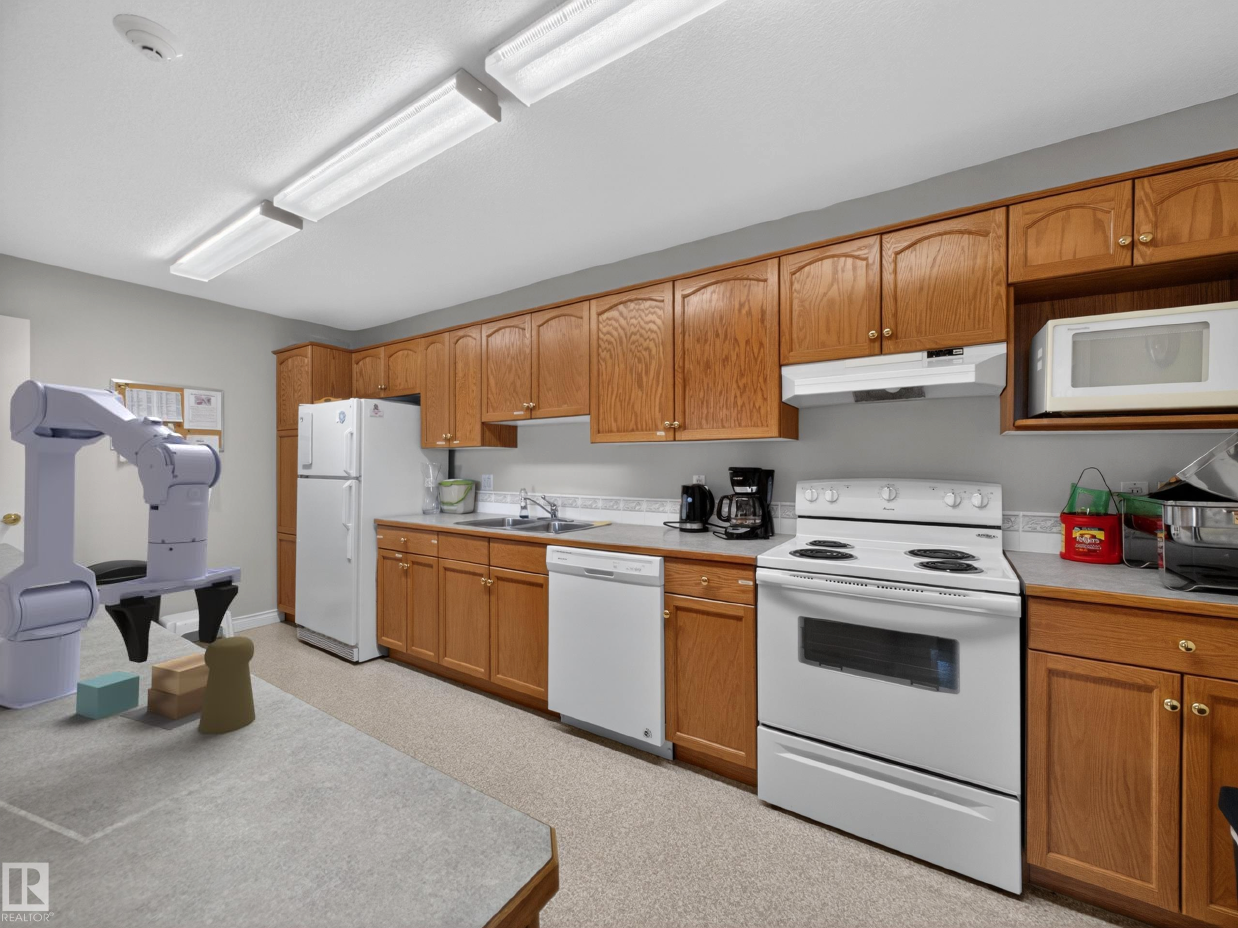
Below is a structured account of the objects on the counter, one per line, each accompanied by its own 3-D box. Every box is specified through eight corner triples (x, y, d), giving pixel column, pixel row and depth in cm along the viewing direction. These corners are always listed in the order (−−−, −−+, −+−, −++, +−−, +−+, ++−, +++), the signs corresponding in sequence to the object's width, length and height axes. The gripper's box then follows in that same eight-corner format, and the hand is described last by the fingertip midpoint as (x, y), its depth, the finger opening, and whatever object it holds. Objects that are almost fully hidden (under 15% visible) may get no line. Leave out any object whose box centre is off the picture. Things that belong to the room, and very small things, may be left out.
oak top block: (151, 688, 72) (152, 665, 72) (196, 674, 77) (196, 652, 77) (178, 695, 70) (179, 671, 70) (222, 680, 75) (223, 658, 75)
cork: (225, 740, 65) (228, 648, 65) (184, 734, 67) (187, 644, 67) (267, 718, 71) (270, 634, 71) (229, 712, 72) (231, 630, 73)
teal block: (75, 717, 71) (77, 682, 71) (117, 703, 75) (119, 670, 75) (96, 723, 69) (97, 687, 69) (138, 709, 73) (139, 675, 73)
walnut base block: (147, 711, 71) (147, 688, 71) (196, 694, 77) (197, 673, 77) (176, 719, 69) (177, 696, 69) (225, 701, 75) (225, 679, 75)
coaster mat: (119, 718, 70) (119, 715, 70) (201, 689, 80) (201, 687, 80) (169, 732, 67) (169, 729, 67) (249, 701, 76) (249, 698, 76)
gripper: (128, 550, 59) (123, 676, 59) (258, 536, 72) (254, 638, 72) (89, 545, 61) (84, 666, 61) (222, 533, 75) (218, 632, 75)
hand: (174, 651), depth 67 cm, fingers open, 7 cm apart
